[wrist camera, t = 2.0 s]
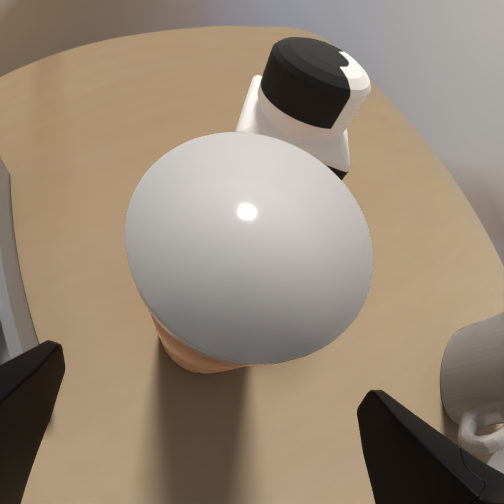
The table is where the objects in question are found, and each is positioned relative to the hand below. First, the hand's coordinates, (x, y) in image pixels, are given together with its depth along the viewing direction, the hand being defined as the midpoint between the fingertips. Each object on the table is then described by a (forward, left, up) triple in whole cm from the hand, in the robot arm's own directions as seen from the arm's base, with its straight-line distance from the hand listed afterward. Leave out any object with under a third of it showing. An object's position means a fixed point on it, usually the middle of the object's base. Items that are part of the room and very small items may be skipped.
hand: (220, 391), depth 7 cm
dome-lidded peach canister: (+3, +2, -10) cm, 11 cm away
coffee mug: (+14, -19, -11) cm, 26 cm away
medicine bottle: (+15, +7, -11) cm, 20 cm away
